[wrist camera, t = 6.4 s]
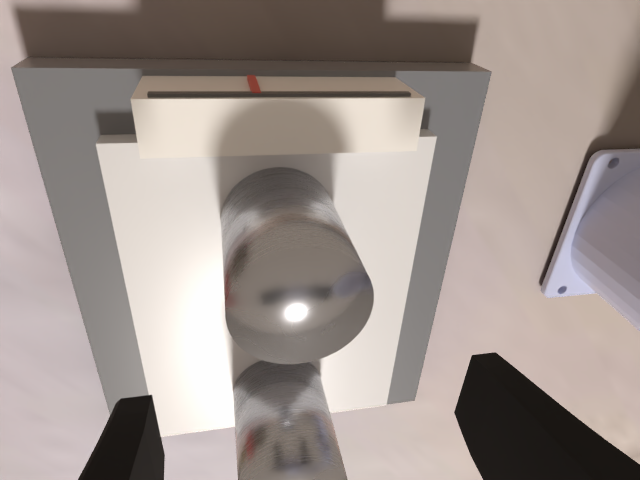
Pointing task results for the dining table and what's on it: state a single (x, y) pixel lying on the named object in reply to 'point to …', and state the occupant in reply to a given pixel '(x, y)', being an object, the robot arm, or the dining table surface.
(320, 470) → the cylinder
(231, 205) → the cylinder
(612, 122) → the dining table surface
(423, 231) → the scale
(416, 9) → the dining table surface
